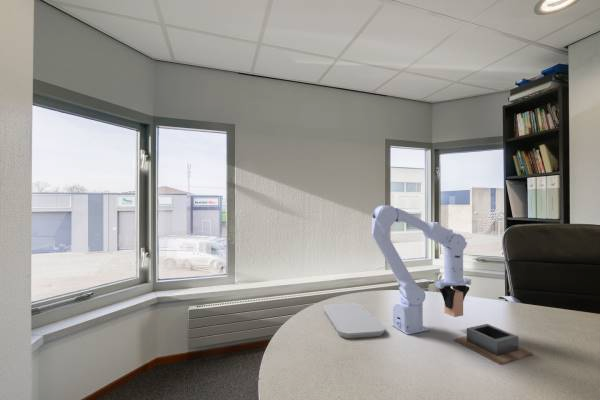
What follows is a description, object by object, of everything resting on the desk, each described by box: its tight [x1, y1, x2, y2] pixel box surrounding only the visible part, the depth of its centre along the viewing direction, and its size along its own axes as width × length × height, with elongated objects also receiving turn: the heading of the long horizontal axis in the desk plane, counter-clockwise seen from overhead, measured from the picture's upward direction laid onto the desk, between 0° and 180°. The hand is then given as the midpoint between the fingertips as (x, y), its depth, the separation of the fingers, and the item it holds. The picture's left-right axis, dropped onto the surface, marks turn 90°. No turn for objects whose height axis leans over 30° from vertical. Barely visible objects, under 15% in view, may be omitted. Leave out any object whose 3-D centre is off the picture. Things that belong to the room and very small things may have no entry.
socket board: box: [454, 323, 534, 365], centre depth 83 cm, size 14×14×4 cm
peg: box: [444, 289, 464, 318], centre depth 95 cm, size 4×4×8 cm
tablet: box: [322, 302, 386, 339], centre depth 101 cm, size 16×26×2 cm, turn 9°
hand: (453, 307), depth 95 cm, fingers closed on peg, 4 cm apart
